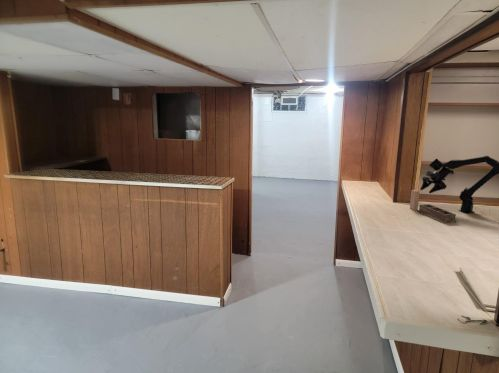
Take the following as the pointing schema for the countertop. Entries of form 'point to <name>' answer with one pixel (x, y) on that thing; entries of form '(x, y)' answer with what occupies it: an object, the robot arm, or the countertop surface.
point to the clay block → (414, 199)
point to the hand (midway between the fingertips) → (424, 191)
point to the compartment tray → (437, 213)
